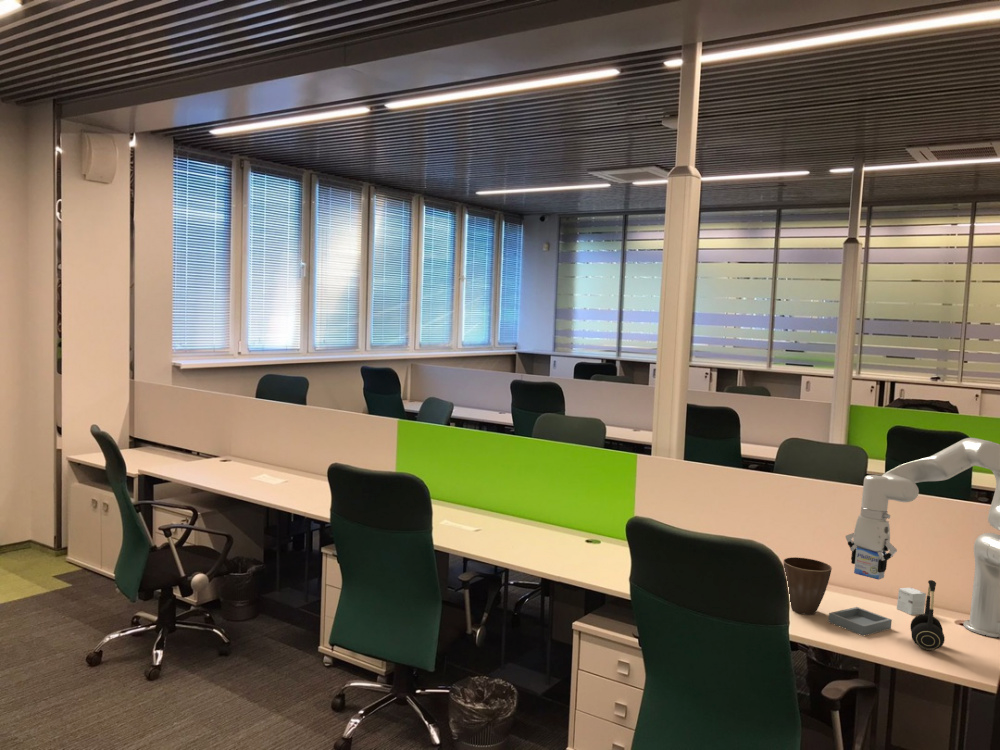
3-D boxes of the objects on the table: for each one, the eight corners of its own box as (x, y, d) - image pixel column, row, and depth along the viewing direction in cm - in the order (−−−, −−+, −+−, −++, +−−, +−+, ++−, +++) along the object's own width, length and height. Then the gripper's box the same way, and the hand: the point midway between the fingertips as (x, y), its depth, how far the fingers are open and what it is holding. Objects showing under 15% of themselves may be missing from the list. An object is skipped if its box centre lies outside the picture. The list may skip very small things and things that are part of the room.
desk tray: (890, 628, 242) (891, 619, 242) (863, 635, 234) (863, 626, 234) (855, 615, 253) (856, 606, 252) (828, 622, 245) (829, 612, 244)
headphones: (940, 641, 234) (946, 577, 233) (944, 658, 221) (951, 590, 220) (908, 634, 238) (914, 572, 237) (910, 651, 225) (917, 584, 224)
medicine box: (853, 573, 246) (855, 547, 246) (859, 571, 249) (861, 545, 249) (878, 580, 240) (881, 553, 240) (884, 577, 244) (886, 551, 243)
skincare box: (896, 608, 263) (898, 588, 262) (909, 607, 265) (911, 587, 264) (911, 615, 257) (913, 594, 257) (924, 614, 259) (926, 593, 259)
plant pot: (802, 621, 244) (806, 572, 243) (769, 604, 258) (773, 558, 257) (837, 617, 250) (842, 569, 249) (803, 601, 263) (807, 556, 263)
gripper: (906, 520, 238) (900, 574, 239) (855, 507, 253) (850, 558, 254) (892, 521, 234) (886, 577, 235) (841, 508, 249) (836, 560, 250)
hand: (868, 567), depth 244 cm, fingers closed on medicine box, 8 cm apart
